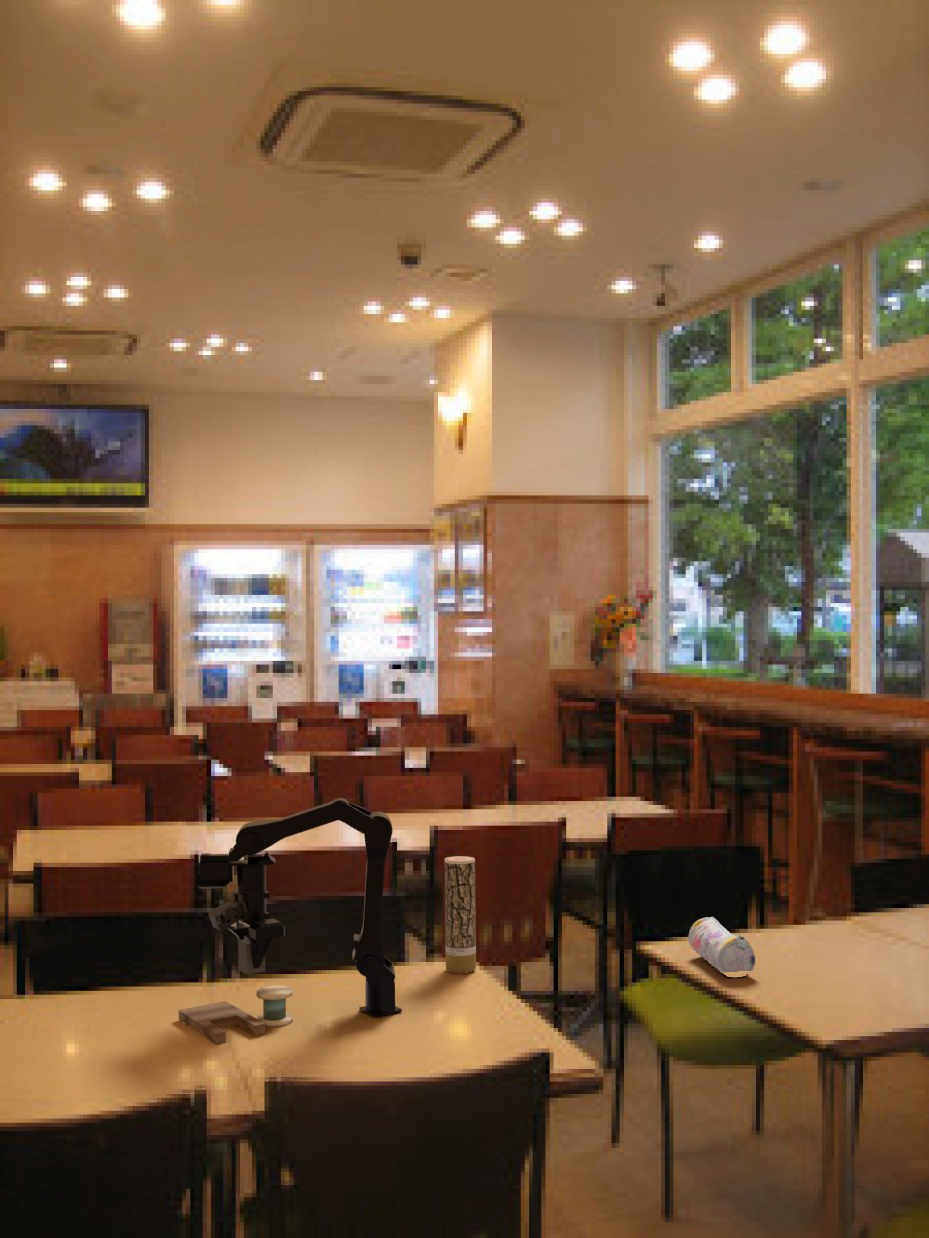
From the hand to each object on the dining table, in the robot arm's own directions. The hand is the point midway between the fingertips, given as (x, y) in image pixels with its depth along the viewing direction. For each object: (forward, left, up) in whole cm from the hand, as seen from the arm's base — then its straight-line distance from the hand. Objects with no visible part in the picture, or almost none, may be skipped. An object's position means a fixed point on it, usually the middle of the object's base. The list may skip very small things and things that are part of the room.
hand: (251, 965), depth 254 cm
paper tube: (+2, -52, -10) cm, 53 cm away
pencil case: (-30, -100, -11) cm, 105 cm away
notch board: (-3, +8, -10) cm, 13 cm away
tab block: (0, 0, -1) cm, 1 cm away
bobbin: (-6, -2, -10) cm, 12 cm away
